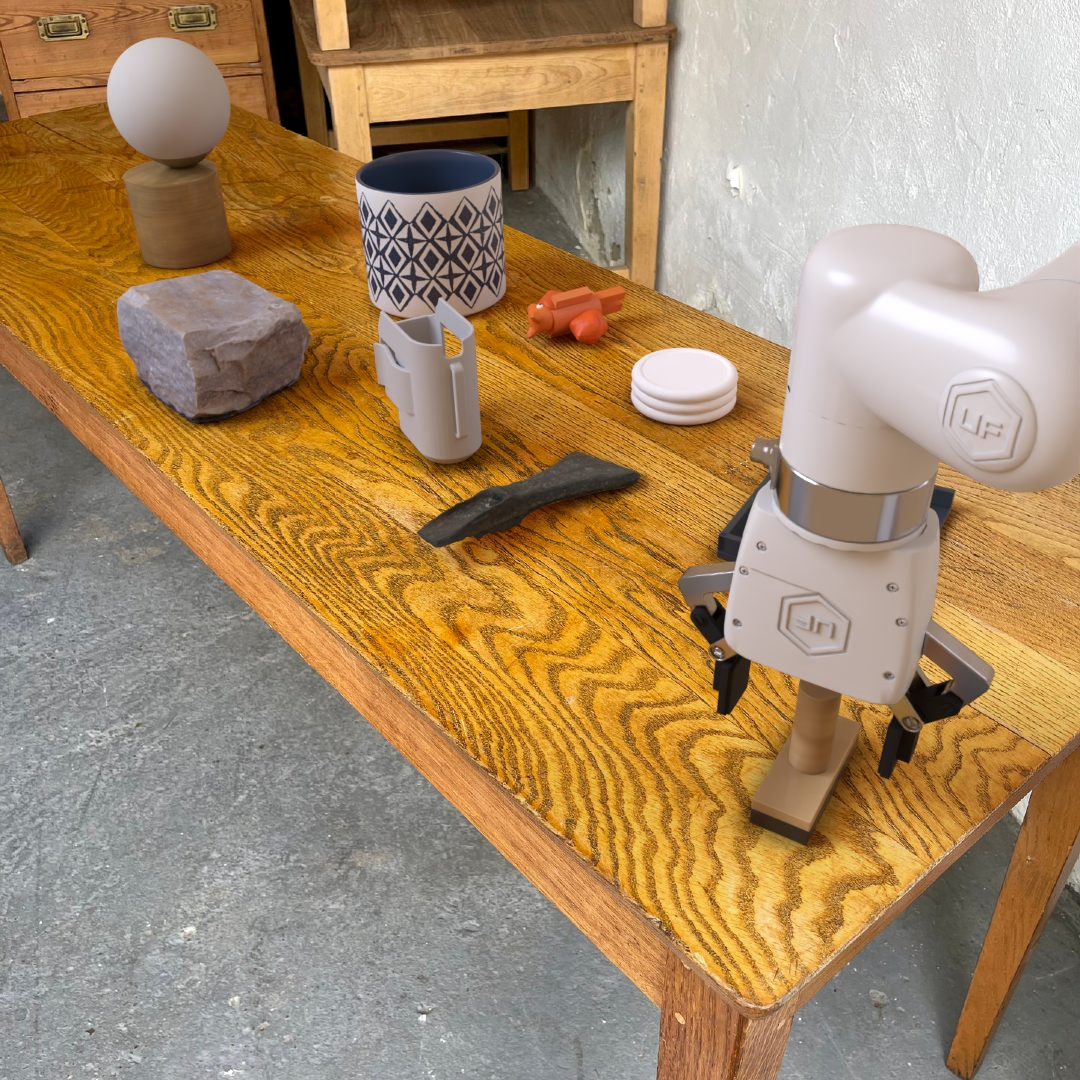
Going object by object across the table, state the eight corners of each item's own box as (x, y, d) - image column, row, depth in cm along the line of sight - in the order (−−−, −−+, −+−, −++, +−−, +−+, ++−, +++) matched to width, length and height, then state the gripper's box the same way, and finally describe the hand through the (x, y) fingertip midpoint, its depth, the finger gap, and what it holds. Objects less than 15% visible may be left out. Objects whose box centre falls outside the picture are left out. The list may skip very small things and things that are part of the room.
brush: (857, 746, 69) (876, 649, 64) (806, 846, 63) (823, 747, 58) (803, 726, 71) (818, 630, 66) (748, 822, 64) (761, 723, 60)
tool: (580, 464, 100) (580, 432, 98) (645, 490, 95) (647, 457, 93) (399, 543, 87) (396, 508, 85) (463, 577, 82) (462, 540, 80)
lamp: (190, 222, 151) (148, 23, 137) (276, 234, 147) (242, 30, 132) (114, 261, 140) (59, 49, 126) (205, 275, 135) (159, 57, 121)
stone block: (333, 298, 108) (195, 313, 97) (330, 411, 112) (198, 436, 102) (237, 264, 117) (102, 274, 107) (238, 369, 122) (109, 388, 112)
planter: (527, 307, 125) (522, 180, 117) (392, 334, 120) (377, 203, 112) (479, 260, 137) (471, 141, 129) (354, 282, 132) (338, 161, 124)
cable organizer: (442, 405, 107) (431, 287, 100) (497, 463, 98) (490, 338, 91) (377, 422, 104) (362, 303, 97) (428, 483, 95) (415, 357, 88)
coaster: (659, 436, 101) (661, 402, 99) (613, 389, 108) (614, 357, 106) (755, 414, 104) (758, 380, 102) (704, 370, 111) (706, 338, 109)
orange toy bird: (612, 264, 119) (516, 289, 115) (649, 307, 116) (551, 335, 111) (604, 301, 123) (510, 326, 119) (639, 343, 120) (544, 371, 115)
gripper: (660, 473, 56) (646, 716, 66) (1018, 579, 48) (941, 835, 58) (721, 409, 61) (699, 644, 71) (1052, 496, 53) (976, 744, 63)
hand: (808, 730), depth 64 cm, fingers open, 9 cm apart
